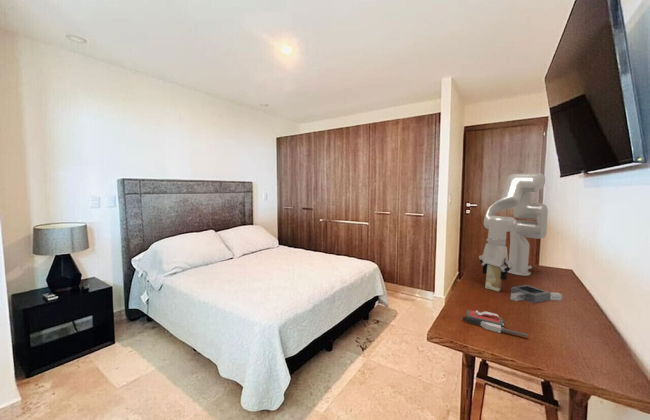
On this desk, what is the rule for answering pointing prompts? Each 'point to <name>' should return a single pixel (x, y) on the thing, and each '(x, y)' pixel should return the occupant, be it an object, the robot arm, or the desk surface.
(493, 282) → the skincare box
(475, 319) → the toy chainsaw
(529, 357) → the desk surface
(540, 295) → the block
